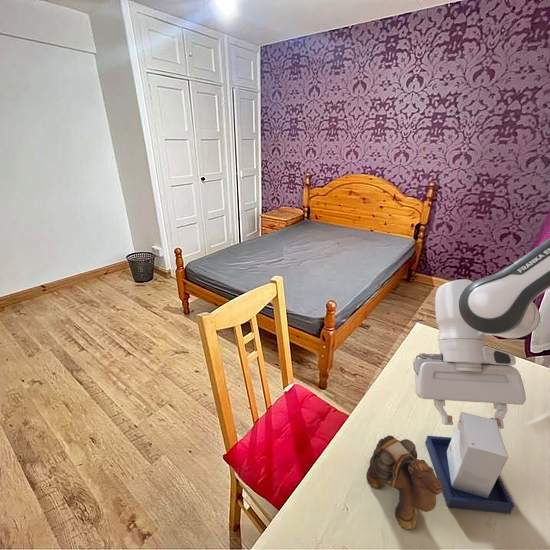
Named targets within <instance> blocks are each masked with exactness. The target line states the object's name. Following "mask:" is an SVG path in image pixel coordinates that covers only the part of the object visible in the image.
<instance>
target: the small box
mask: <svg viewBox="0 0 550 550" xmlns="http://www.w3.org/2000/svg"><path fill="white" fill-rule="evenodd" d="M451 438H452V439H451V442H450V444H449V447H448V450H447V458H448V466H449V473H450V479H451V486H452V488H455V489H458V490H461V491H464V492H468V493H471V494H474V495H477V496H481V497H484V498H488V496H489V494H490V492H491V490H492V488H493V486H494V484H495V482H496V480H497V478H498V476H499V477H500V475H501V472H502V470H503V468H504V466H505V464H506V462H507V460H508V459H509V455H508V452H507V449H506V446H505V443H504V439H503V436H502V433H501V430H500V429H499V427H498V424H497V421H496V420H493V419H490V417H489V418H488V417H485V416H481V415H476V414H473V413H468V412H464V411H461V412H460V414H459V417H458V420H457V423H456V425H455V427H454V431H453V433H452V436H451Z"/></svg>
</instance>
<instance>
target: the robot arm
mask: <svg viewBox="0 0 550 550" xmlns="http://www.w3.org/2000/svg"><path fill="white" fill-rule="evenodd" d="M549 289H550V237H548V238H547V239H546V240H545V241H543V242H542V243H540V244H539V245H537V246H536V247H535V248H533V249H532V250H531V251H529V252H528V253H526V254H525V255H523V256H522V257H520V258H519V259H518V260H516V261H515V262H514V263H511V264H510V265H509V266H508V267H506V268H504V269H502V270H500V271H498V272H496V273H493V274H490V275H487V276H484V277H481V278H478V279H476V280H474V281H473V280H471V279H467V278H459V279H451V280H450V281H447V282H444V283H442V284H441V285H440V286H439V287H438V288H437V289H436V292H435V295H434V312H435V313H434V315H435V322H436V326H437V327H438V337H437V344H438V351H439V353H426V352H425V353H424V352H422V353H419V354H417V355H416V356H414V357H413V360H412V365H413V366H412V367H413V371H414V372H415V373H414V393H415V395H416V396H417V397H418V398H419V399H422V400H433V406H434V407H435V409H436V410H437V411H438V413H439V415H440V418H441V424H442V425H445V426H453V425H454V422H453V420H454V419H453V416H452V415H450V414H448V413H447V412H446V409H445V408H444V407H446V401H450V402H451V401H453V402H466V403H467V402H470V403H484V404H492V405H493V409H494V410H496V411H495V414H494V416H493V417H489V419H493V420H496V421H497V424H498V427H499V430H500V429H501V430H503V429H504V428H505V425H504V419H505V417H506V415H507V412H508V405H517V406H518V405H519V406H523V405H524V404H525V402H526V400H527V395H526V389H525V385H524V382H523V379H522V375H521V373H520V371H519V370H518V369H517V367H514V366H515V365H516V363H517V360H516V357H515V355H514V354H512V353H509V352H506V351H503V350H499V349H497V348H495V347H491V346H488V345H487V341H486V337H487V336H494V337H500V338H504V339H519V338H523V337H526V336H529V335H530V334H531V333H534V331H535V330H536V329H537V328H538V327H539V324H540V320H541V314H540V310H539V308H538V306H537V305H536V303H534V301H535V299H536V298H537V297H539V296H540V295H541V294H543V293H545V292H546V291H548V290H549Z"/></svg>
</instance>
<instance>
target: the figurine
mask: <svg viewBox="0 0 550 550" xmlns="http://www.w3.org/2000/svg"><path fill="white" fill-rule="evenodd" d="M369 459H370V460H369V467H368V468H367V471H366V475H365V477H366V481H367V483H368V484H369V485H370V486H371V487H373V488H376V489H380V488H381V487H383V486H384V485H385V482H386V484H387V485H388V486H389V487H391V488H394V489H395V490H397V491H398V493H399V497H398V503H397V506H396V507H395V509H394V517H395V519H396V521H397V523H398V525H399V526H400V527H401V528H402V529H404V530H412V529H414V528H415V527H416V524H417V517H418V513H419V511H421V512H423V513H428V512H432V511H433V510H435V508H436V506H437V496H438V495H440V494H441V493H442V485H441V483H440V481H439V480H438V478H437V476H436V473H434V472H435V471H434V468H432V467H431V466H430V465H429V464H428V463H427V462H426V460H424V459H419V458H418V452H417V447H416V444H415V443H414V442H413V441H412V440H410V439H407V438H406V439H405V438H404V439H401V440H399V439H397V438H396V437H394V436H393V435H387V436H385V437H383V438H380V439H379V440H378V442H377V444H376V446H375V448H374V450H373V453H372V455H371V457H370V458H369Z"/></svg>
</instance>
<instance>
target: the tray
mask: <svg viewBox="0 0 550 550" xmlns="http://www.w3.org/2000/svg"><path fill="white" fill-rule="evenodd" d="M451 439H452V436H451V437H449V436H437V435H427V436H426V438H425V442H424V444H425V446H426V450H427V452H428V455H429V459H430V461H431V465H432V467H433V471H434V472H435V473H434V474H435V476H436V477H437V478H438V480H439V481H440V483H441V485H442V492H441V493H442V496H443V498H444V501H445V505H446V507H447V508H450V509H459V510H460V509H461V510H467V511H468V510H469V511H477V512H478V511H479V512H488V513H498V514H512V512H513V510H514V508H515V504H514V502H513V500H512V499H511V497H510V495H509V492H508V491H507V489H506V486H505V484H504V483H503V481H502V479H501V477H500V475H499V476H498V478H497V480H496V482H495V484H494V486H493V488H492V490H491V492H490V494H489V496H488V498H484V497H481V496H477V495H474V494H471V493H468V492H464V491H461V490H458V489H455V488H452V486H451V479H450V473H449V466H448V458H447V450H448V447H449V444H450V442H451Z"/></svg>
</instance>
